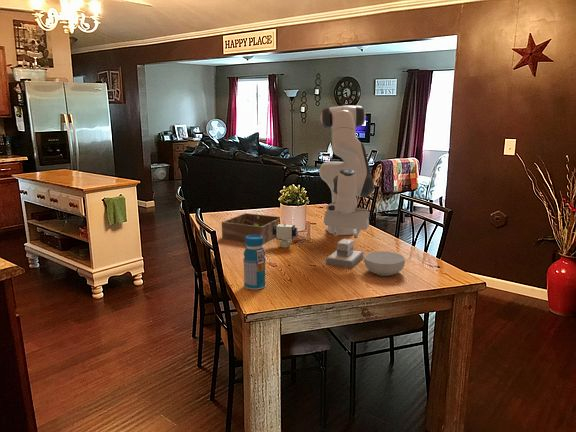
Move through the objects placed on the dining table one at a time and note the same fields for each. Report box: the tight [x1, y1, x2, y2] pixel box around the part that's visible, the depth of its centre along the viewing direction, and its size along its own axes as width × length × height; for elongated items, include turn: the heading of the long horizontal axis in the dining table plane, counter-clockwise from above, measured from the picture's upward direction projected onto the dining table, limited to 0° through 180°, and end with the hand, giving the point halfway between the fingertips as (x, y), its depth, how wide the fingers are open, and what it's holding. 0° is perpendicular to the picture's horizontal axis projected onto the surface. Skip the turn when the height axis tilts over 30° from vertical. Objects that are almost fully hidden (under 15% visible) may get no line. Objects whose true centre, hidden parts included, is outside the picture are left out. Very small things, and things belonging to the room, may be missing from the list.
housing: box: [336, 238, 354, 257], centre depth 213 cm, size 8×5×6 cm, turn 154°
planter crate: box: [221, 212, 281, 245], centre depth 254 cm, size 24×24×9 cm
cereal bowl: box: [363, 250, 406, 277], centre depth 198 cm, size 17×17×7 cm
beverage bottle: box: [242, 235, 266, 291], centre depth 181 cm, size 8×8×20 cm
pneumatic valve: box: [273, 222, 298, 249], centre depth 234 cm, size 6×12×12 cm, turn 79°
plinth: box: [325, 249, 364, 269], centre depth 214 cm, size 16×12×3 cm
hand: (345, 236), depth 212 cm, fingers open, 8 cm apart
